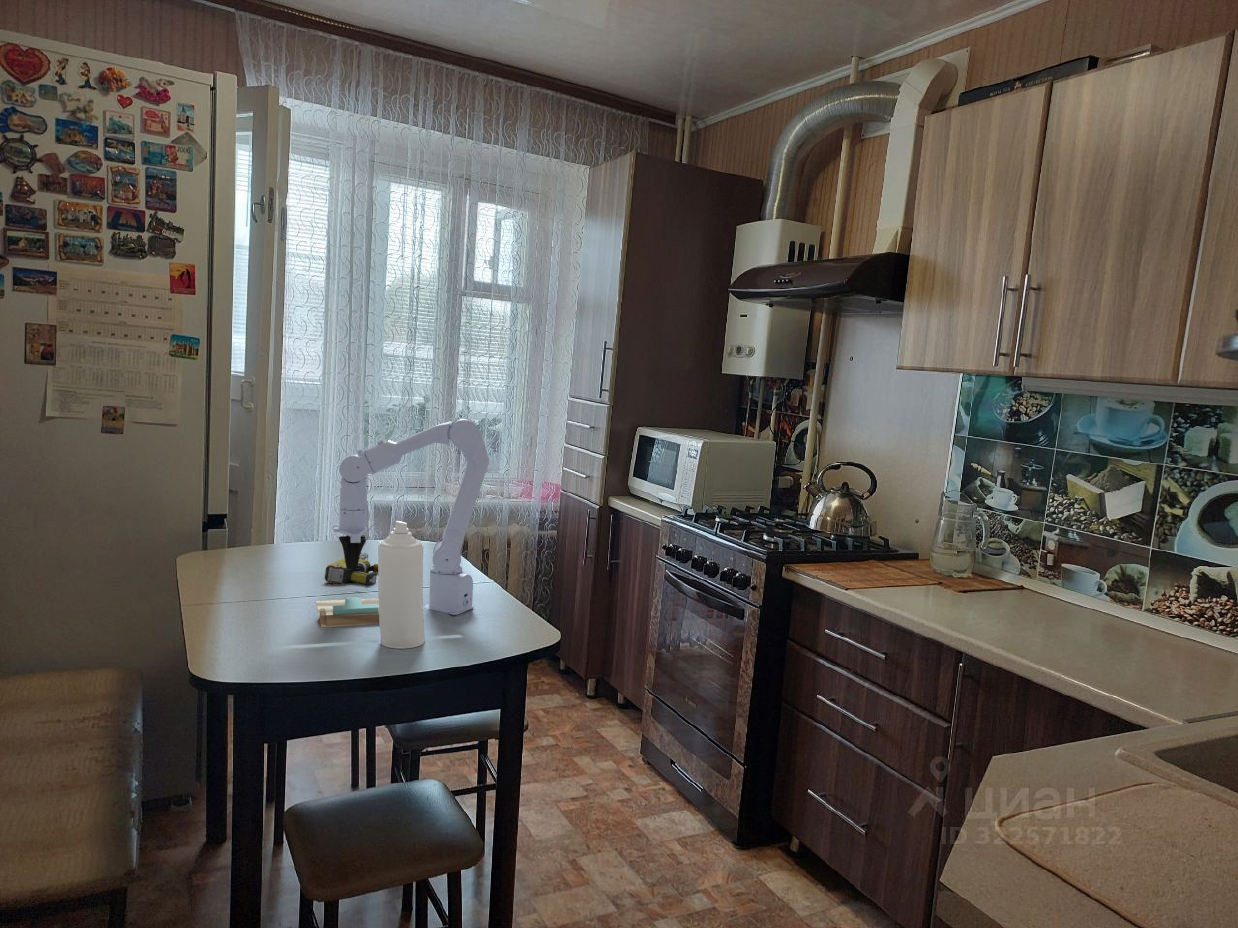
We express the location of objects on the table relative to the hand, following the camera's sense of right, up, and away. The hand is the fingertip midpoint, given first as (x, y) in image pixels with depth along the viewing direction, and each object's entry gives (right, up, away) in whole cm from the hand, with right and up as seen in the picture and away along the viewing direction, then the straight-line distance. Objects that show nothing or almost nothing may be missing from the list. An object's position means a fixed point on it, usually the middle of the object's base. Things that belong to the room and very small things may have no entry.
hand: (351, 568), depth 183 cm
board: (+1, -10, -4) cm, 10 cm away
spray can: (+17, -13, -21) cm, 30 cm away
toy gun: (-6, -7, +31) cm, 32 cm away
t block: (+3, -9, -7) cm, 12 cm away
